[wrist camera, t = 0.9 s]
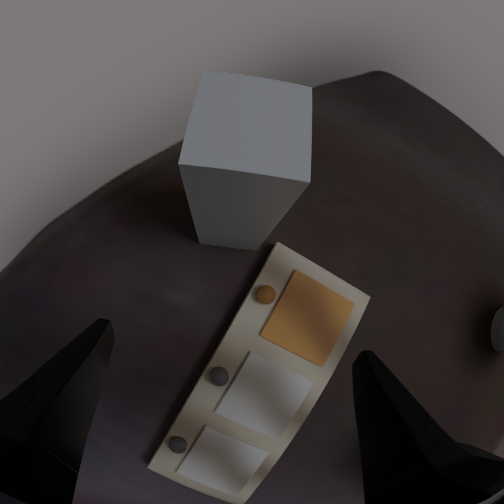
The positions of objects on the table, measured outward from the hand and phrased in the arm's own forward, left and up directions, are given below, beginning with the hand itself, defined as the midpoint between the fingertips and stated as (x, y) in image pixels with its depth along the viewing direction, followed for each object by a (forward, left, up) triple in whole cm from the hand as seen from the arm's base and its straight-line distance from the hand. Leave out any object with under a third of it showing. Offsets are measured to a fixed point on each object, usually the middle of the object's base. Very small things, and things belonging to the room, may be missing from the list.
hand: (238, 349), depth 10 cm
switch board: (-4, -5, -13) cm, 14 cm away
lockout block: (+7, +4, -13) cm, 15 cm away
